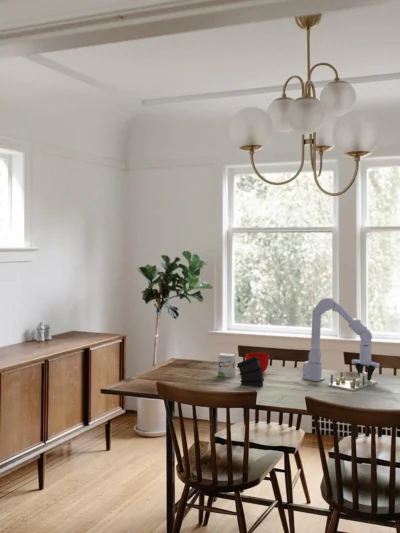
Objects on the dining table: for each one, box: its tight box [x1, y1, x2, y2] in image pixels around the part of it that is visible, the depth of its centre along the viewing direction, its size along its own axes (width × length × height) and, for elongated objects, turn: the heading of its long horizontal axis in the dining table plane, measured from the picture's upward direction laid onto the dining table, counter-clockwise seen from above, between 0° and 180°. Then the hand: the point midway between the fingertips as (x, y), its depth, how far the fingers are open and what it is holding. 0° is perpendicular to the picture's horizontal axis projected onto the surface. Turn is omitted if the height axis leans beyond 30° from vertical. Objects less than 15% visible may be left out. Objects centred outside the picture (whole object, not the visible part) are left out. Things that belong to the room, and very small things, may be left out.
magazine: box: [236, 356, 265, 388], centre depth 285 cm, size 4×13×15 cm, turn 62°
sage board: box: [354, 371, 378, 386], centre depth 294 cm, size 10×7×5 cm
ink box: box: [217, 352, 236, 379], centre depth 306 cm, size 8×5×12 cm, turn 69°
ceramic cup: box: [245, 352, 270, 374], centre depth 316 cm, size 13×17×10 cm
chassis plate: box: [327, 371, 368, 392], centre depth 286 cm, size 14×14×6 cm
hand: (365, 379), depth 294 cm, fingers closed on sage board, 4 cm apart
